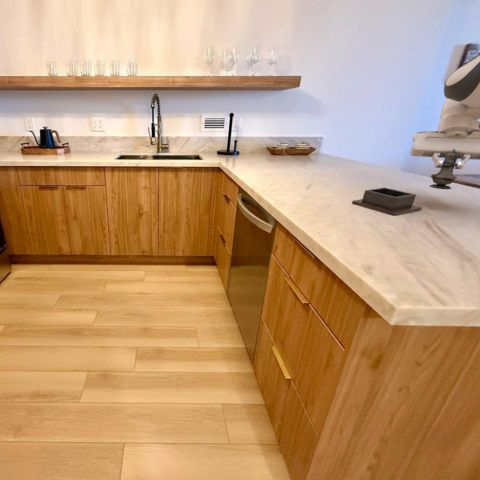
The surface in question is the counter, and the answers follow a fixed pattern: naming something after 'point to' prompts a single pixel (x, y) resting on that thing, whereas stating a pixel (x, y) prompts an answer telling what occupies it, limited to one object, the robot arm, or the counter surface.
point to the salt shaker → (445, 172)
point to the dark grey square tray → (388, 201)
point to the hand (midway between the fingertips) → (448, 167)
